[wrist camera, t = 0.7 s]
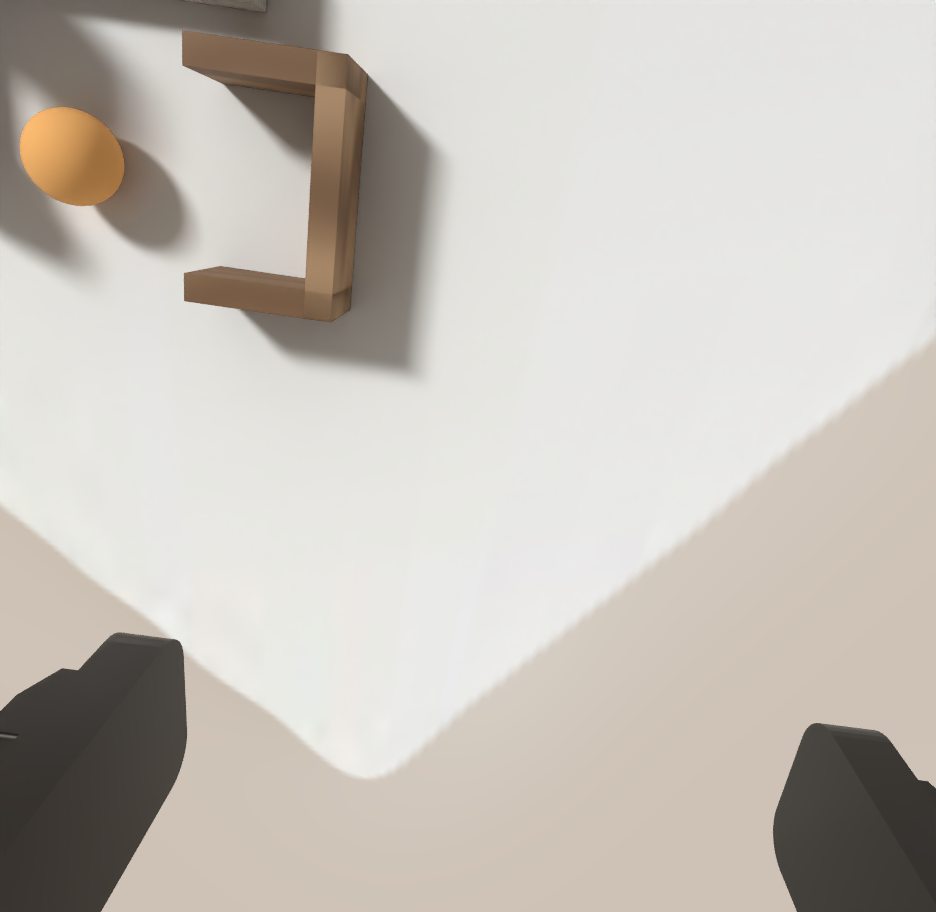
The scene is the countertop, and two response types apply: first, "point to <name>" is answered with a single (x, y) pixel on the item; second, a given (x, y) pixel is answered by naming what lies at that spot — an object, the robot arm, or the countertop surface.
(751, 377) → the countertop surface
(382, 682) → the countertop surface
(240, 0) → the rail
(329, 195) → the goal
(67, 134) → the ball
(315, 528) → the countertop surface
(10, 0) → the countertop surface
